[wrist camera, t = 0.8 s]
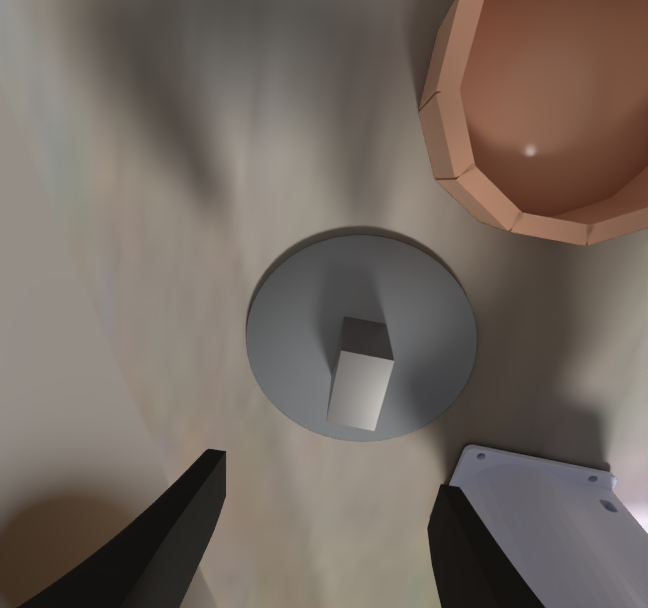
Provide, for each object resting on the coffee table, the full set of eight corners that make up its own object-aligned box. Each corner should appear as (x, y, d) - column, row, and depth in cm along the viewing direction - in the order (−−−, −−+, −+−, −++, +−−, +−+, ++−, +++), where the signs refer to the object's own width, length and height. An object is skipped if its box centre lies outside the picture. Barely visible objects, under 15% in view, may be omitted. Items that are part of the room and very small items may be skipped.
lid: (507, 259, 18) (559, 286, 13) (434, 449, 22) (454, 518, 18) (261, 213, 18) (229, 224, 13) (241, 411, 23) (213, 469, 18)
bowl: (778, -55, 12) (929, -139, 9) (625, 249, 17) (692, 266, 13) (470, -106, 13) (510, -206, 9) (395, 206, 17) (405, 212, 14)
